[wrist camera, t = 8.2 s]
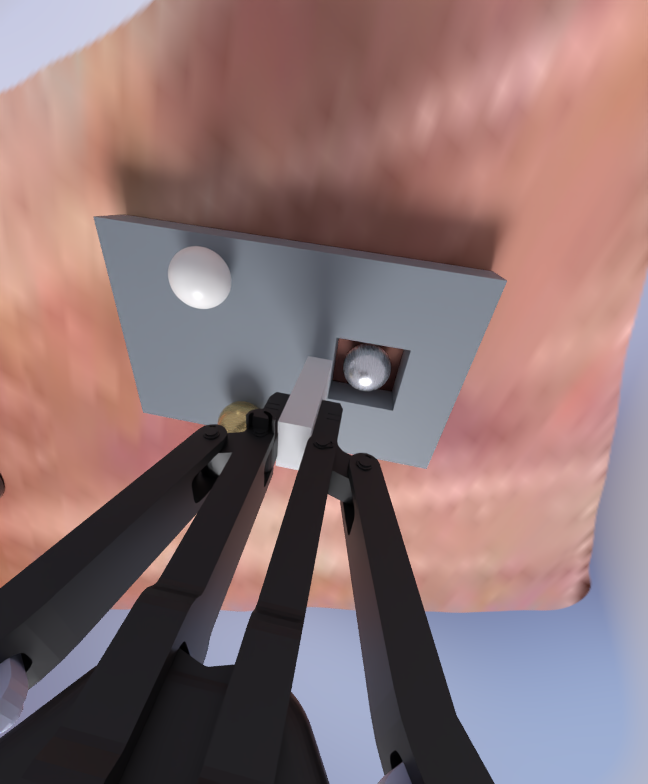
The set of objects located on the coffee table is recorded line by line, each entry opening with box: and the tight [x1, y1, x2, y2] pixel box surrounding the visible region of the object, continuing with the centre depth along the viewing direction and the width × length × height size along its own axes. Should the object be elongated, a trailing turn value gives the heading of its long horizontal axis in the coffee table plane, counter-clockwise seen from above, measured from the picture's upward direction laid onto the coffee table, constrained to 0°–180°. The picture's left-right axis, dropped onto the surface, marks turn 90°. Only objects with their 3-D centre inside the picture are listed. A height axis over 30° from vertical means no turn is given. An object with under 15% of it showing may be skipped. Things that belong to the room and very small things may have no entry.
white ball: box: [168, 246, 232, 309], centre depth 17 cm, size 3×3×3 cm
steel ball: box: [343, 344, 391, 391], centre depth 21 cm, size 3×3×3 cm
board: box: [94, 215, 507, 469], centre depth 22 cm, size 23×14×2 cm, turn 83°
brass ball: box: [218, 401, 259, 433], centre depth 22 cm, size 3×3×3 cm
